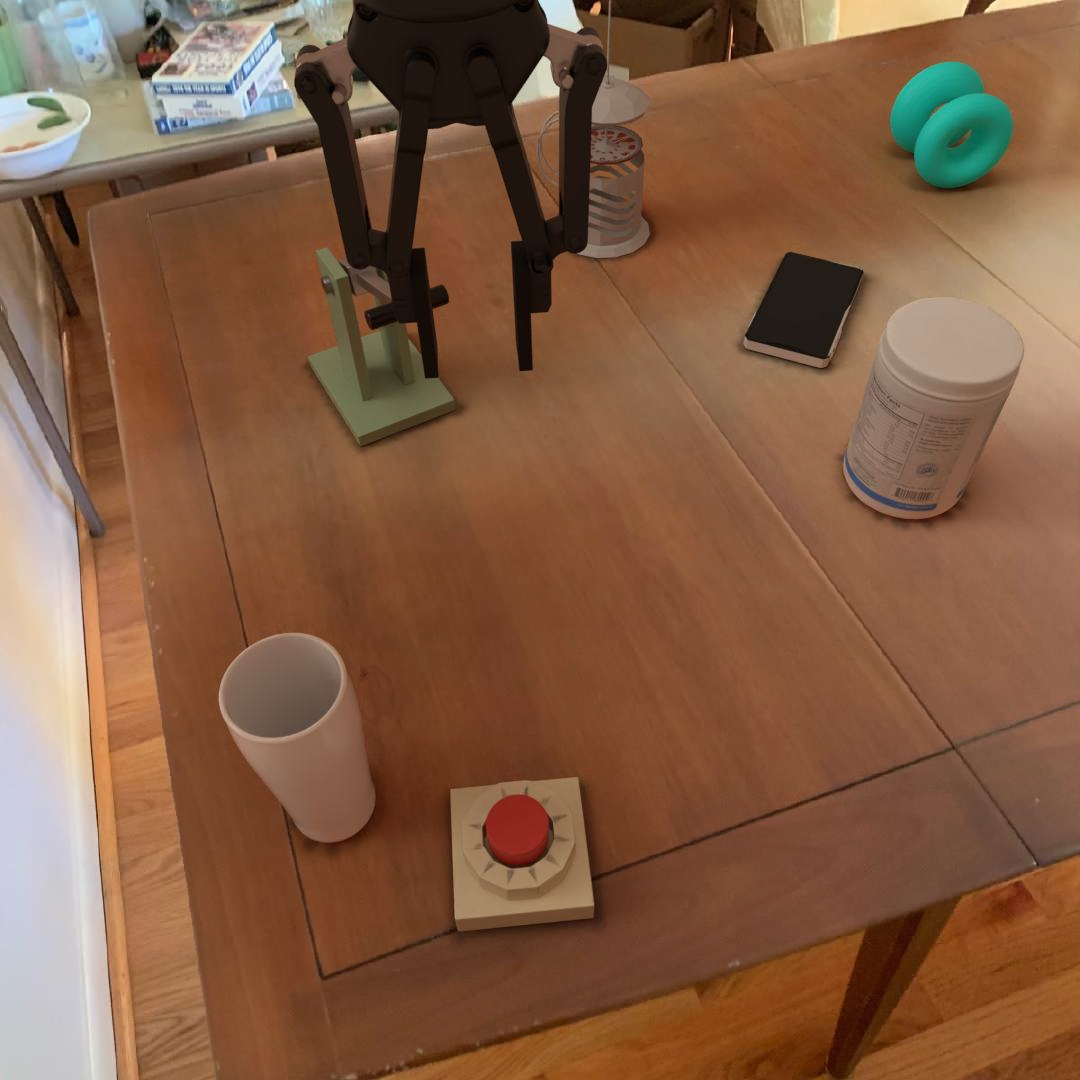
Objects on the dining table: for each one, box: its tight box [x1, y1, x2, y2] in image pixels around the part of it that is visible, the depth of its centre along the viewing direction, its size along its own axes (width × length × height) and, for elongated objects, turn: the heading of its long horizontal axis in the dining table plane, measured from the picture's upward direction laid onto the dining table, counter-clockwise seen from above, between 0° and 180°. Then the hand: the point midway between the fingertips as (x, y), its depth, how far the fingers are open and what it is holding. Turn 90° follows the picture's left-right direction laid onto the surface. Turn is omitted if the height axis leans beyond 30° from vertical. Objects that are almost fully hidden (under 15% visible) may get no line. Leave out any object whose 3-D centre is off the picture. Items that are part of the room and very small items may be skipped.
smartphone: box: [742, 251, 865, 369], centre depth 92 cm, size 8×1×15 cm
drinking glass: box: [218, 632, 377, 844], centre depth 56 cm, size 7×7×15 cm
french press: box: [535, 0, 651, 259], centre depth 92 cm, size 10×12×25 cm
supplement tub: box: [842, 296, 1025, 520], centre depth 73 cm, size 10×10×15 cm
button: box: [486, 794, 549, 865], centre depth 56 cm, size 4×4×2 cm
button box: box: [449, 776, 595, 932], centre depth 58 cm, size 8×8×4 cm
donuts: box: [889, 61, 1014, 189], centre depth 104 cm, size 10×10×10 cm
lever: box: [337, 257, 450, 331], centre depth 74 cm, size 13×6×2 cm, turn 29°
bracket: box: [307, 246, 457, 447], centre depth 82 cm, size 12×9×14 cm
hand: (477, 358), depth 55 cm, fingers open, 4 cm apart
